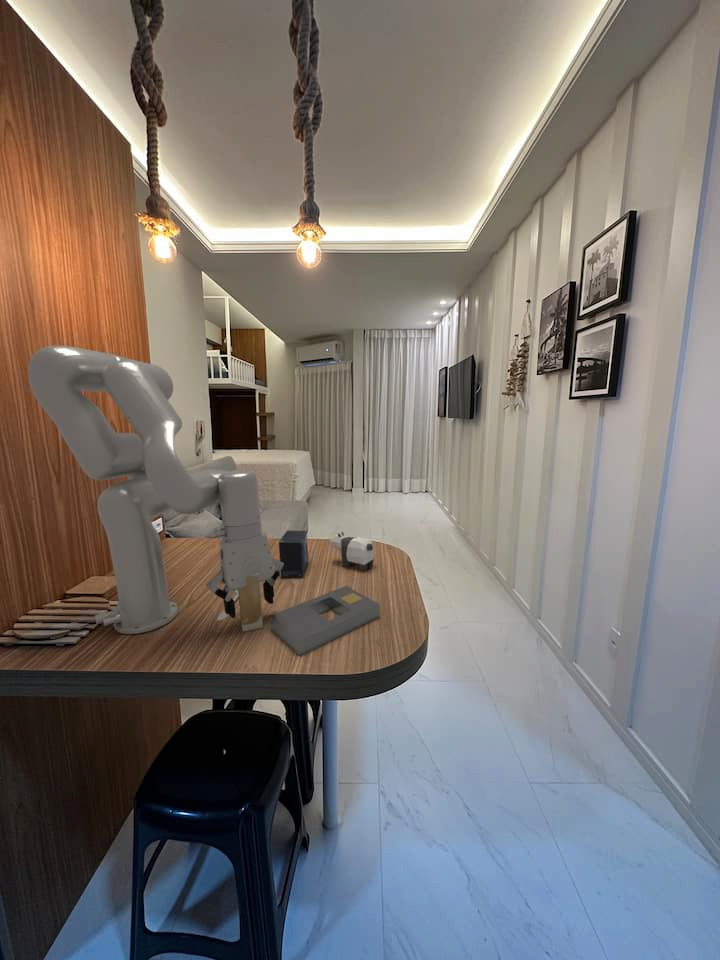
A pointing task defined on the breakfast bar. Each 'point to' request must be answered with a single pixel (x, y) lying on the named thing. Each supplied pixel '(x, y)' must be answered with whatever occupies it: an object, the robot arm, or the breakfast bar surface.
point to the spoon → (224, 609)
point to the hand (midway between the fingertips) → (250, 607)
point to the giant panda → (354, 551)
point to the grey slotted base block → (323, 619)
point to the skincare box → (250, 604)
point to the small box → (293, 554)
